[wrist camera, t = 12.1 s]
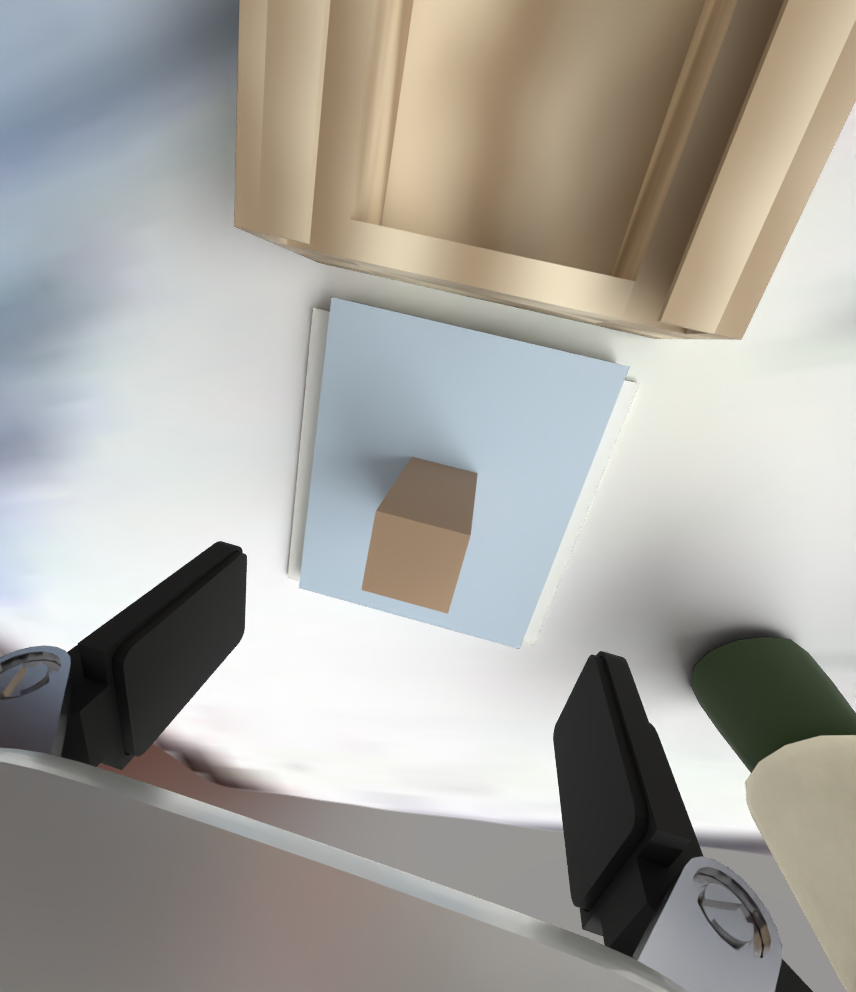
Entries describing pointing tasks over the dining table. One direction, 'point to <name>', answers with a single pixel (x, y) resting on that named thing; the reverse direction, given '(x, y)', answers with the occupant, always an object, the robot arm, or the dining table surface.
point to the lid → (447, 468)
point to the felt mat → (307, 454)
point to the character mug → (794, 775)
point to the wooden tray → (545, 146)
